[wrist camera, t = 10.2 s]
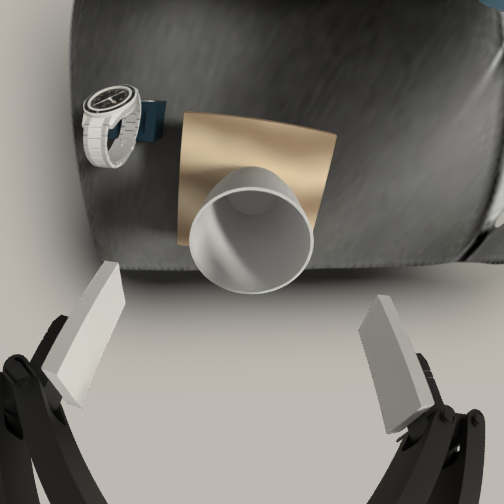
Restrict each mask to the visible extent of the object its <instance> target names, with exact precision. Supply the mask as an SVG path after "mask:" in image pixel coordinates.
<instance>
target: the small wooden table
mask: <svg viewBox="0 0 504 504" xmlns="http://www.w3.org/2000/svg"><path fill="white" fill-rule="evenodd" d="M336 137H337V135H336V134H334V133H331V132H327V131H323V130H318V129H314V128H309V127H304V126H299V125H294V124H289V123H283V122H277V121H271V120H265V119H258V118H251V117H243V116H235V115H226V114H216V113H205V112H191V111H187V112H184V120H183V131H182V143H181V157H180V174H179V195H178V235H177V244H178V245H186V246H190V245H189V236H190V230H191V226H192V223H193V221H194V219H195V217H196V215H197V214H198V212H199V210H200V208H201V207H202V205H203V203H204V201H205V200H206V198H207V196H208V195H209V193H210V191H211V190H212V189H213V188H214V187H215V186H216V185H217V184H218V183H219V182H220V181H221V180H222V179H223V178H224V177H225V176H227V175H228V174H229V173H231V172H232V171H234V170H236V169H239V168H242V167H248V166H256V167H262V168H265V169H268V170H270V171H272V172H273V173H275V174H276V175H277V176H278V177H279V178H280V179H282V180H283V181H284V182H285V183H286V184H287V185H288V186H289V187H290V188H291V190H292V191H293V192H294V194H295V196H296V197H297V199H298V201H299V203H300V205H301V207H302V208H303V210H304V212H305V214H306V216H307V218H308V220H309V222H310V224H311V227H312V231H313V229H314V225H315V221H316V218H317V214H318V210H319V206H320V203H321V199H322V195H323V191H324V187H325V183H326V179H327V175H328V171H329V167H330V163H331V159H332V155H333V150H334V146H335V142H336Z"/></svg>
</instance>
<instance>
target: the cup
mask: <svg viewBox="0 0 504 504" xmlns="http://www.w3.org/2000/svg"><path fill="white" fill-rule="evenodd" d="M313 243H314V239H313V231H312V227H311V224H310V222H309V220H308V218H307V216H306V214H305V212H304V210H303V208H302V207H301V205H300V203H299V201H298V199H297V197H296V196H295V194H294V192H293V191H292V190H291V188H290V187H289V186H288V185H287V184H286V183H285V182H284V181H283V180H282V179H280V178H279V177H278V176H277V175H276V174H275V173H273V172H272V171H270V170H268V169H265V168H262V167H256V166H248V167H242V168H239V169H236V170H234V171H232V172H231V173H229V174H228V175H227V176H225V177H224V178H223V179H222V180H221V181H220V182H219V183H218V184H217V185H216V186H215V187H214V188H213V189H212V190H211V191H210V193H209V195H208V196H207V198H206V200H205V201H204V203H203V205H202V207H201V208H200V210H199V212H198V214H197V215H196V217H195V219H194V221H193V223H192V226H191V230H190V236H189V245H190V251H191V255H192V257H193V260H194V262H195V264H196V265H197V267H198V268H199V270H200V271H201V272H202V273H203V274H204V275H205V276H206V277H207V278H208V279H209V280H210V281H212V282H213V283H215V284H216V285H218V286H220V287H222V288H224V289H227V290H229V291H233V292H237V293H243V294H260V293H266V292H271V291H274V290H277V289H279V288H281V287H283V286H285V285H287V284H288V283H290V282H291V281H293V280H294V279H295V278H297V277H298V276H299V275H300V274H301V272H302V271H303V270H304V269H305V267H306V266H307V264H308V262H309V260H310V257H311V254H312V251H313Z"/></svg>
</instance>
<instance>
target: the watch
mask: <svg viewBox="0 0 504 504" xmlns="http://www.w3.org/2000/svg"><path fill="white" fill-rule="evenodd" d="M83 108H84V115H83V120H82V127H83V128H84V132H83V135H84V136H83V143H84V150H85V153H86V156H87V159H88V160H89V161H90V163H91V164H92V165H94V166H97V167H107V168H118V167H119V166H122V165H123V164H124V163H125V162H126V160H127V159H128V157H129V156H130V154H131V152H132V150H133V149H134V146H135V144H136V141H146V142H154V141H156V140H158V139H159V138H161V137H162V131H163V123H164V115H165V108H166V101H156V100H141V99H140V95H139V93H138V89H135V88H134V87H132V86H130V85H125V84H119V85H112V86H108V87H105V88H102V89H100V90H98V91H96V92H94V93H93V94H92V95H90V96H89V97H88V98H87V99H86V100H85V101H84V103H83ZM108 128H109V133H108ZM107 134H108V139H115V141H114V143H113V144H112V146H111V148H110V149H109V151H108V150H107V146H106V145H107Z"/></svg>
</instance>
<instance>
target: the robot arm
mask: <svg viewBox="0 0 504 504" xmlns="http://www.w3.org/2000/svg"><path fill="white" fill-rule="evenodd" d="M478 1H479V2H481V3H482V4H484V5H486V6H489V7H491V8H494V9H496V10H499V11H502V12H504V0H478ZM124 306H125V298H124V294H123V288H122V282H121V276H120V271H119V264H118V263H117V262H110V261H104V263H103V264H102V266H101V267H100V269H99V270H98V272H97V273H96V275H95V276H94V278H93V279H92V281H91V282H90V284H89V285H88V287H87V288H86V290H85V291H84V293H83V294H82V296H81V298H80V299H79V301H78V303H77V304H76V306H75V307H74V309H73V311H72V312H71V314H70V316H69V317H67V316H64V315H60V316H59V317H58V318H57V319H56V320H54V321H53V322H52V324H51V326H50V327H49V329H48V332H47V333H46V334H45V336H44V337H43V338H44V339H43V340H42V341H41V343H40V344H39V346H38V348H37V350H36V352H35V354H34V355H33V358H32V359H31V361H30V363H29V361H28V360H27V359H26V358H25V357H24V356H23V355H19V354H16V355H13V356H11V357H9V358H8V359H7V360H6V361H5V363H4V366H3V372H0V504H40V502H39V498H38V494H37V489H36V485H35V480H34V474H33V468H32V462H31V458H32V461H33V464H34V467H35V469H36V472H37V474H38V477H39V479H40V482H41V484H42V486H43V488H44V491H45V493H46V495H47V497H48V500H49V502H50V504H107V502H106V500H105V498H104V497H103V495H102V493H101V492H100V490H99V488H98V486H97V484H96V483H95V481H94V479H93V477H92V475H91V473H90V471H89V469H88V467H87V466H86V463H85V461H84V459H83V457H82V455H81V453H80V451H79V448H78V446H77V444H76V441H75V439H74V437H73V434H72V432H71V429H70V427H69V424H68V421H67V419H66V416H65V414H64V410H63V408H62V405H61V404H60V401H61V399H62V397H63V399H64V400H65V401H66V402H67V403H68V404H71V405H73V406H76V407H79V408H82V407H83V404H84V401H85V398H86V396H87V393H88V390H89V388H90V385H91V382H92V380H93V377H94V374H95V372H96V370H97V367H98V365H99V362H100V360H101V357H102V355H103V352H104V350H105V348H106V345H107V343H108V341H109V338H110V336H111V334H112V332H113V330H114V327H115V325H116V323H117V321H118V319H119V316H120V314H121V312H122V310H123V308H124ZM358 331H359V334H360V337H361V340H362V344H363V347H364V350H365V354H366V357H367V360H368V364H369V367H370V371H371V374H372V378H373V381H374V385H375V388H376V393H377V396H378V400H379V404H380V408H381V412H382V416H383V420H384V424H385V429H386V433H387V434H391V433H396V432H400V431H402V430H403V429H404V428H406V427H407V428H408V432H406V433H405V434H404V435H402V436H401V437H399V438H398V439H397V441H396V442H399V441H400V440H402V439H403V440H402V442H401V443H400V446H399V448H398V450H397V452H396V455H395V456H394V458H393V460H392V462H391V464H390V466H389V468H388V469H387V471H386V473H385V475H384V477H383V478H382V480H381V482H380V483H379V485H378V487H377V488H376V490H375V492H374V493H373V495H372V496H371V498H370V500H369V501H368V503H367V504H479V498H480V492H481V485H482V476H483V466H484V452H485V420H484V416H483V414H482V413H481V412H480V411H479V410H477V409H473V410H471V411H470V412H468V413H467V414H458V413H455V412H454V410H453V409H452V408H451V407H450V406H448V405H444V403H443V401H442V399H441V396H440V393H439V390H438V388H437V385H436V383H435V380H434V379H433V375H432V372H430V367H429V365H428V363H427V361H426V360H425V358H424V357H423V356H422V354H420V353H417V354H416V353H415V351H414V348H413V346H412V344H411V341H410V339H409V337H408V335H407V332H406V330H405V328H404V326H403V323H402V321H401V319H400V317H399V315H398V313H397V311H396V308H395V306H394V304H393V302H392V300H391V298H390V296H386V295H377V297H376V299H375V301H374V303H373V305H372V307H371V308H370V310H369V312H368V314H367V316H366V317H365V319H364V321H363V323H362V325H361V326H360V328H359V330H358ZM458 446H460V450H459V451H457V447H458Z"/></svg>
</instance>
